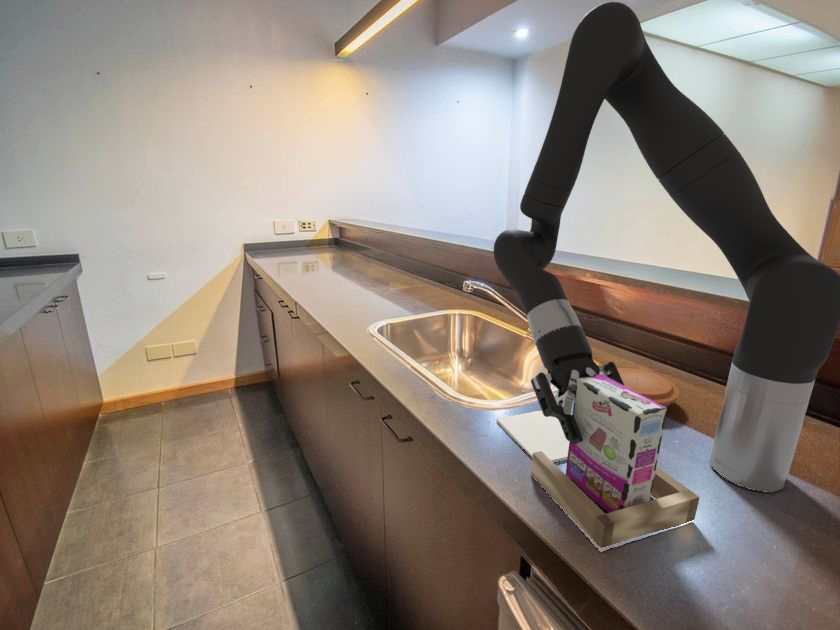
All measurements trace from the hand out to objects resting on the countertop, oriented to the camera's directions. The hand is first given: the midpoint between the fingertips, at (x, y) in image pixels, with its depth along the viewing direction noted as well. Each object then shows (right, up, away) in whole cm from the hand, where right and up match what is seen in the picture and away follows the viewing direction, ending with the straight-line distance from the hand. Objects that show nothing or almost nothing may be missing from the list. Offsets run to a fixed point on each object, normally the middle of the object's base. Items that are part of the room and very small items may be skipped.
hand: (600, 437), depth 60 cm
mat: (-3, -4, +15) cm, 16 cm away
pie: (+19, 0, +28) cm, 33 cm away
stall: (+1, -8, +1) cm, 8 cm away
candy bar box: (+1, -9, +1) cm, 9 cm away
